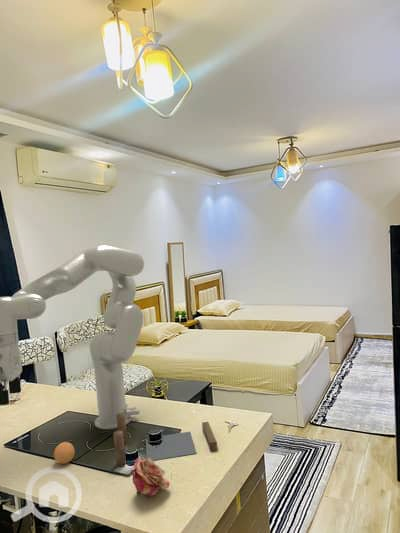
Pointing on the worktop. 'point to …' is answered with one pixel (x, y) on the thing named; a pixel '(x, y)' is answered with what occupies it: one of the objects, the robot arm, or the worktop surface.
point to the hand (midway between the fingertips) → (9, 398)
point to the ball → (64, 453)
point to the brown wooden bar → (209, 436)
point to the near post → (119, 448)
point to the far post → (121, 425)
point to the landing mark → (171, 447)
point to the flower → (148, 477)
